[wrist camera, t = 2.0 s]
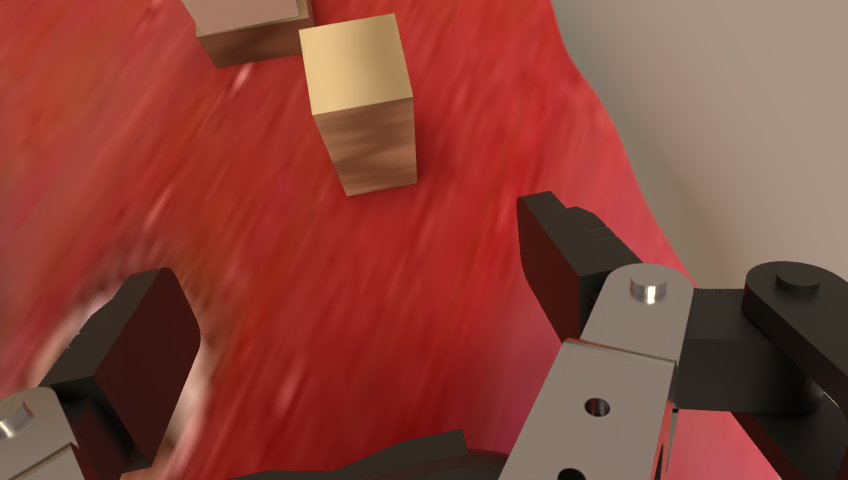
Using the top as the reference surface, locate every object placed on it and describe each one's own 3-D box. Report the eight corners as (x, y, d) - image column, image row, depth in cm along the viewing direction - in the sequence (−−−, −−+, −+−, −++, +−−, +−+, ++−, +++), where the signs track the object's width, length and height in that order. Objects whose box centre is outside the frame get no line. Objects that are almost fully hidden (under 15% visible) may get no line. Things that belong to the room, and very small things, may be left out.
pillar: (346, 196, 32) (312, 114, 22) (335, 132, 33) (298, 29, 24) (417, 183, 32) (412, 96, 23) (403, 120, 34) (394, 13, 24)
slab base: (218, 70, 35) (196, 37, 32) (210, -12, 37) (188, -52, 34) (320, 52, 35) (308, 17, 32) (306, -29, 37) (294, -70, 34)
